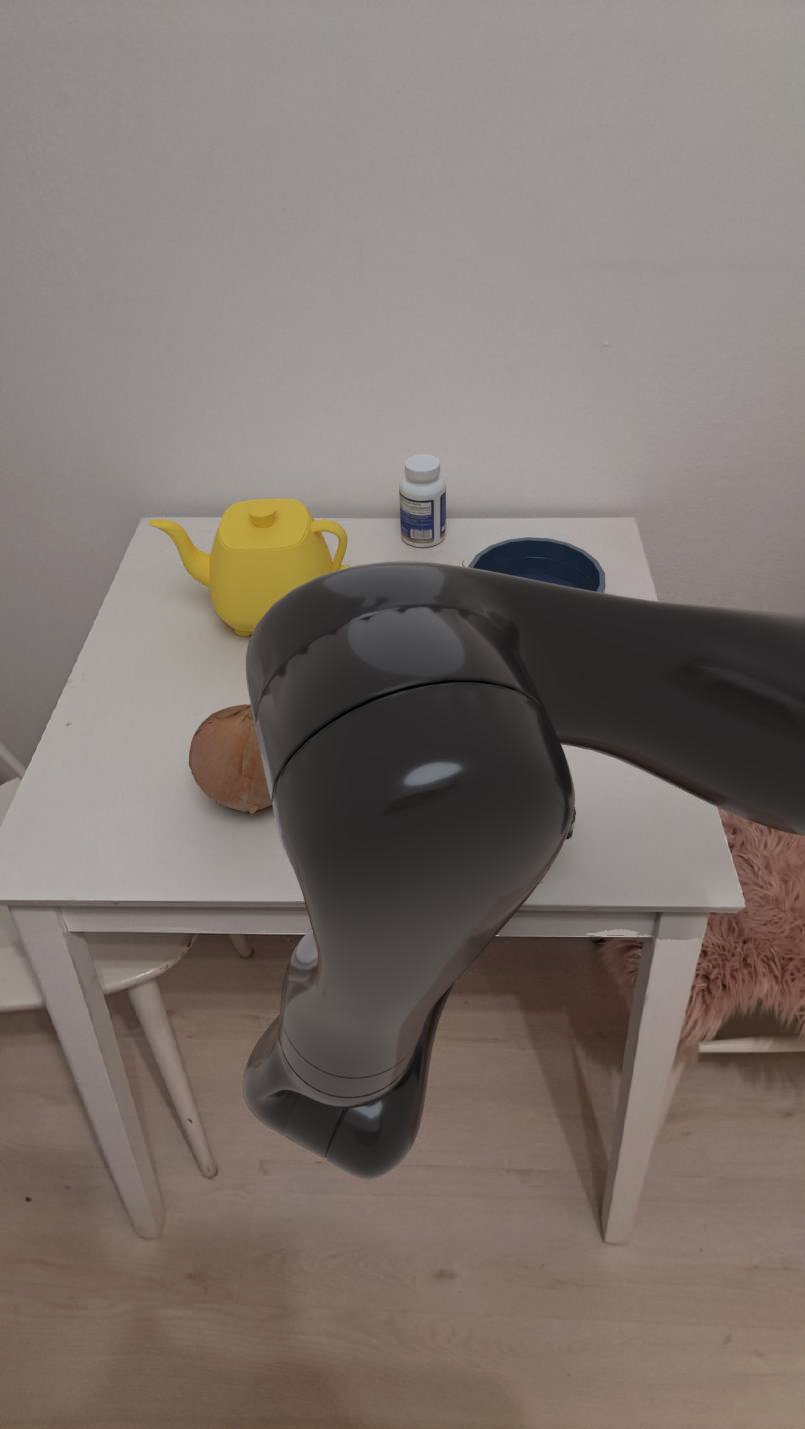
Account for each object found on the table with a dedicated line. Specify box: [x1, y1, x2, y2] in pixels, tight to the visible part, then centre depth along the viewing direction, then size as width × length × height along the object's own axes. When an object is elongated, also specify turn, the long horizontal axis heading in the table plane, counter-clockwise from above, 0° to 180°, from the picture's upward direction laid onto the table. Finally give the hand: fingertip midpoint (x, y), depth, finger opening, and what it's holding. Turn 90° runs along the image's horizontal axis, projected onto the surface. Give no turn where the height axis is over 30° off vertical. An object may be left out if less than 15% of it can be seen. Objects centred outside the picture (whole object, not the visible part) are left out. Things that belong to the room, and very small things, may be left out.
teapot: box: [147, 497, 350, 637], centre depth 97 cm, size 14×20×13 cm
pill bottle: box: [398, 453, 447, 548], centre depth 107 cm, size 5×5×10 cm
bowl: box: [467, 536, 607, 593], centre depth 98 cm, size 14×14×5 cm
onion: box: [188, 703, 272, 815], centre depth 79 cm, size 10×9×10 cm
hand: (532, 720), depth 75 cm, fingers closed
